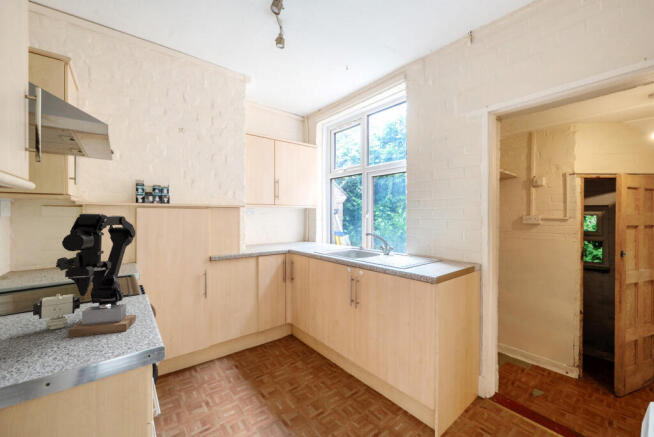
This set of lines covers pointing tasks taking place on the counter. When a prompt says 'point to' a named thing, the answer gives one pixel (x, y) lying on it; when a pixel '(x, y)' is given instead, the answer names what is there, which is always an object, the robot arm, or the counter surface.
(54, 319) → the pneumatic valve
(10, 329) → the counter surface
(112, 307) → the housing
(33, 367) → the counter surface
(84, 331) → the walnut stand
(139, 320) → the counter surface
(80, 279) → the robot arm
